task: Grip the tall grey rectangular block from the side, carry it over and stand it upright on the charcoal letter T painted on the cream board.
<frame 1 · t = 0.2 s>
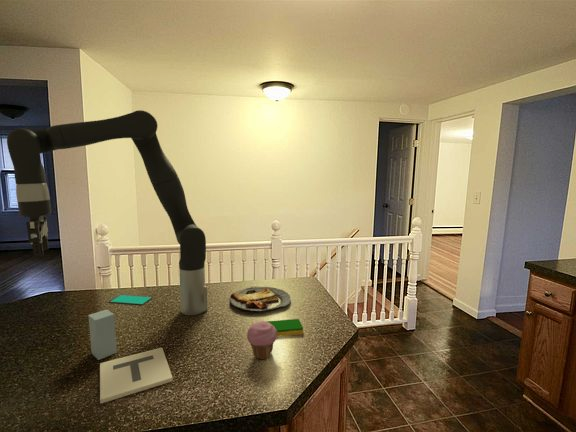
hand: (41, 252, 95), 28 cm above the countertop, tool pointing down, fingers open, 8 cm apart
food plate: (260, 302, 131), on the countertop
smartphone: (131, 301, 131), on the countertop
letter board: (135, 373, 84), on the countertop
dish sponge: (281, 332, 107), on the countertop
grey rectangular block: (104, 353, 93), on the countertop
cupcake: (262, 355, 93), on the countertop
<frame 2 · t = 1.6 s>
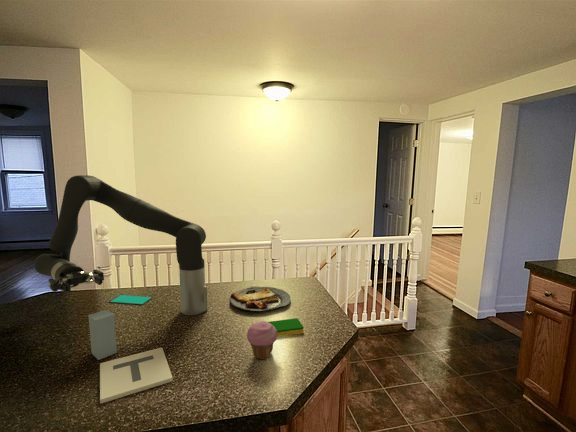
hand: (85, 285, 97), 18 cm above the countertop, tool horizontal, fingers open, 8 cm apart
nothing on the countertop moved.
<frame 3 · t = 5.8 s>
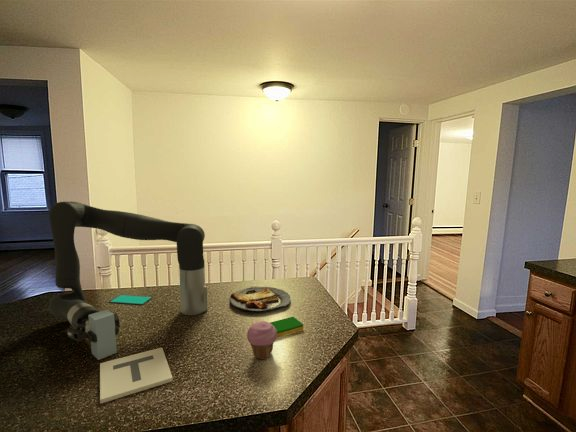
hand: (106, 335, 91), 7 cm above the countertop, tool horizontal, fingers closed on grey rectangular block, 5 cm apart
grey rectangular block: (104, 352, 93), on the countertop, touching gripper
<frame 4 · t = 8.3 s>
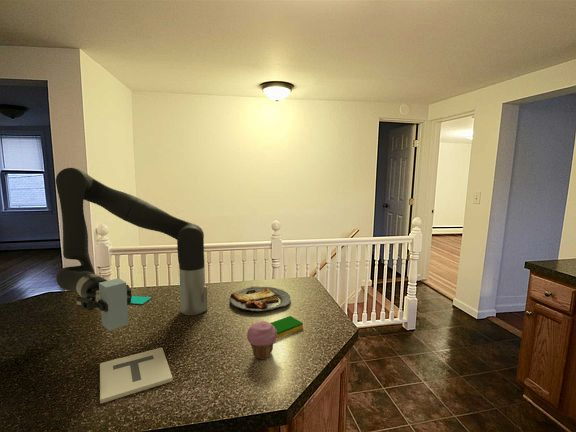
hand: (118, 304, 84), 18 cm above the countertop, tool horizontal, fingers closed on grey rectangular block, 5 cm apart
grey rectangular block: (115, 324, 87), point 11 cm above the countertop, touching gripper
when the fingers open (9 cm above the countertop, at t = 11.0 s): grey rectangular block drops 1 cm, resting on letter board.
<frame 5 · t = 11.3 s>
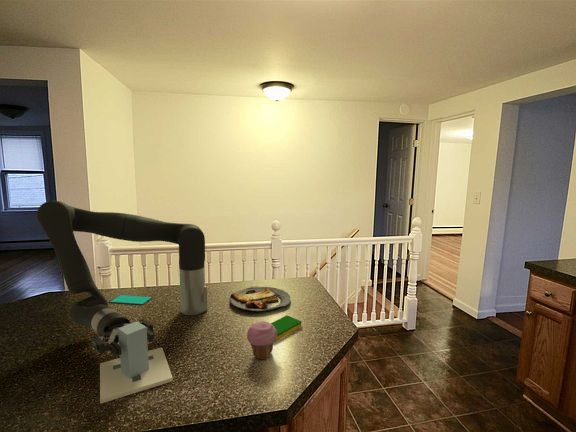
hand: (136, 344, 81), 9 cm above the countertop, tool horizontal, fingers open, 8 cm apart
grey rectangular block: (135, 370, 84), point 1 cm above the countertop, touching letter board
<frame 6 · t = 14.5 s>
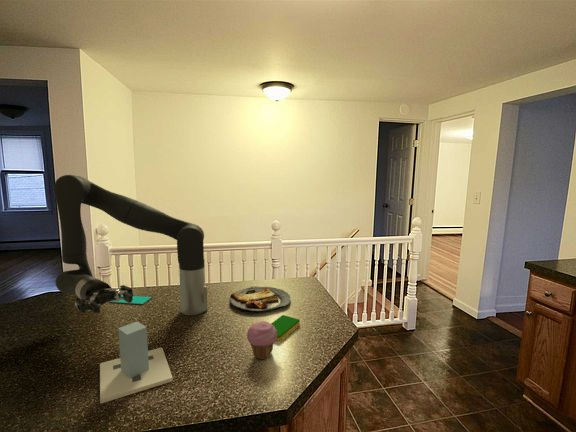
hand: (115, 304, 89), 16 cm above the countertop, tool horizontal, fingers open, 8 cm apart
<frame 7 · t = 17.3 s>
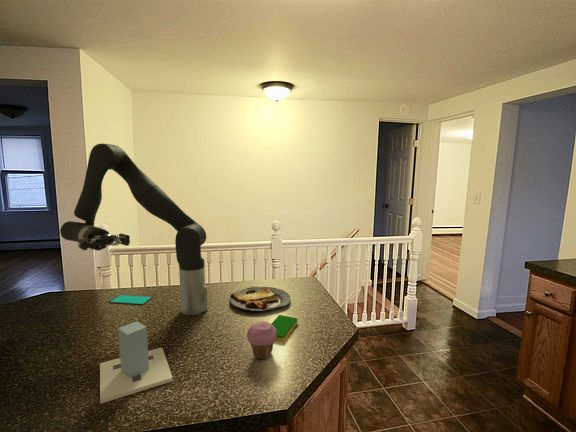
hand: (113, 244, 100), 30 cm above the countertop, tool horizontal, fingers open, 8 cm apart
at the end: grey rectangular block 0.0 cm off-centre on the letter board, point 1.0 cm above the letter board's base; grey rectangular block tilted 0°; the gripper is holding nothing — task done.
